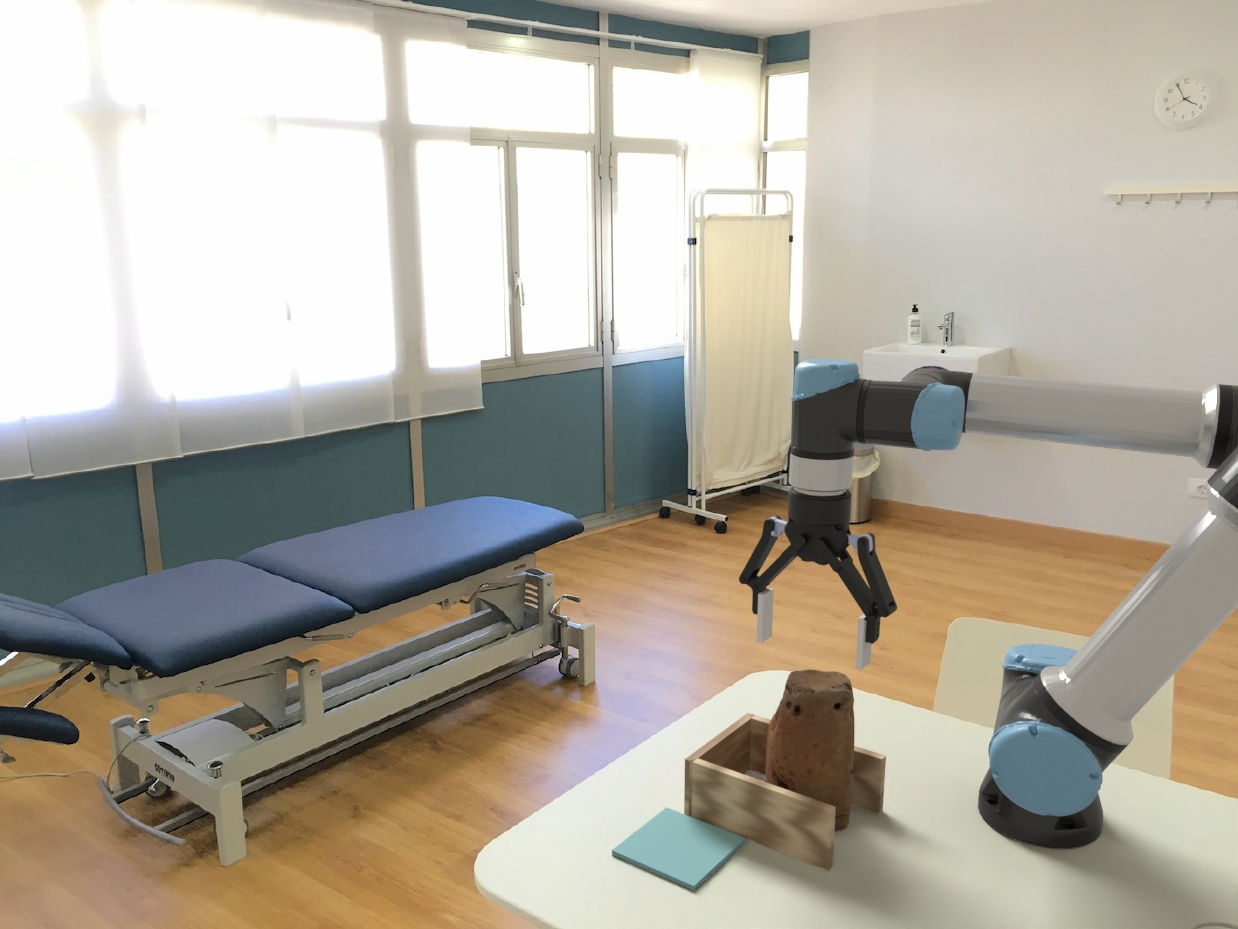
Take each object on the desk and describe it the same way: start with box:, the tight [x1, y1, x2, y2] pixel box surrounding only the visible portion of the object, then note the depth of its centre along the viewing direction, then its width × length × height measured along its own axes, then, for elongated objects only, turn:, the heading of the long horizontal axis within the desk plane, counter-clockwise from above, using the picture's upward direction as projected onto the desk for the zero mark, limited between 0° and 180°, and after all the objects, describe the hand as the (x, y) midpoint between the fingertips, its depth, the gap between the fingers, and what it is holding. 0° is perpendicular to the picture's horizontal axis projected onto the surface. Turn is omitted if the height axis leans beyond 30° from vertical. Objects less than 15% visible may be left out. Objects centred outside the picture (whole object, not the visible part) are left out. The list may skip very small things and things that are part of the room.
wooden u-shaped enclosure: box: [683, 712, 887, 872], centre depth 136 cm, size 21×16×8 cm
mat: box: [611, 807, 746, 891], centre depth 129 cm, size 12×12×1 cm
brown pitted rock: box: [764, 669, 855, 833], centre depth 133 cm, size 11×8×20 cm
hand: (812, 652), depth 130 cm, fingers open, 13 cm apart
